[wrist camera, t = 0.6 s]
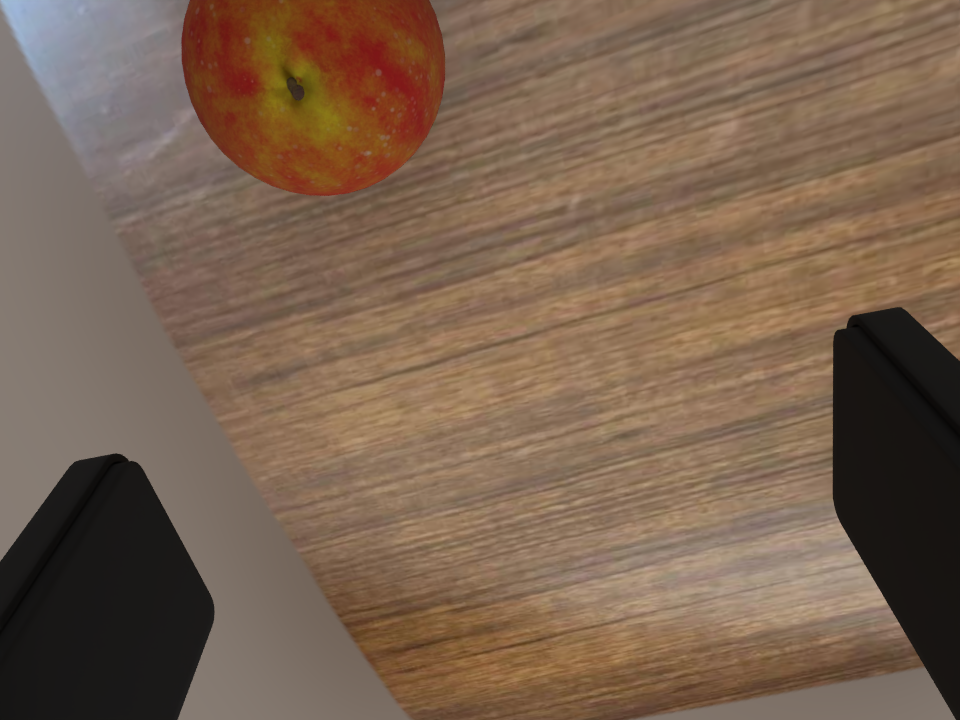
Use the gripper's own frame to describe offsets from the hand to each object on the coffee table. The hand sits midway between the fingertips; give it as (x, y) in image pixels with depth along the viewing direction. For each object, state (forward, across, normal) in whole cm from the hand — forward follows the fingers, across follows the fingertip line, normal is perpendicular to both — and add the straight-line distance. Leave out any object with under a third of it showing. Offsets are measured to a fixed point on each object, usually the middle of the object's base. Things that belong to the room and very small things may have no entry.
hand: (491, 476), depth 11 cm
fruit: (+18, +4, -4) cm, 19 cm away
